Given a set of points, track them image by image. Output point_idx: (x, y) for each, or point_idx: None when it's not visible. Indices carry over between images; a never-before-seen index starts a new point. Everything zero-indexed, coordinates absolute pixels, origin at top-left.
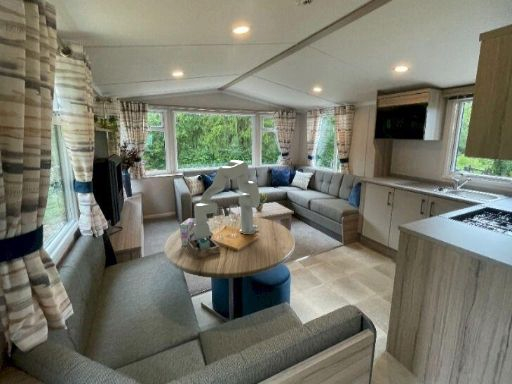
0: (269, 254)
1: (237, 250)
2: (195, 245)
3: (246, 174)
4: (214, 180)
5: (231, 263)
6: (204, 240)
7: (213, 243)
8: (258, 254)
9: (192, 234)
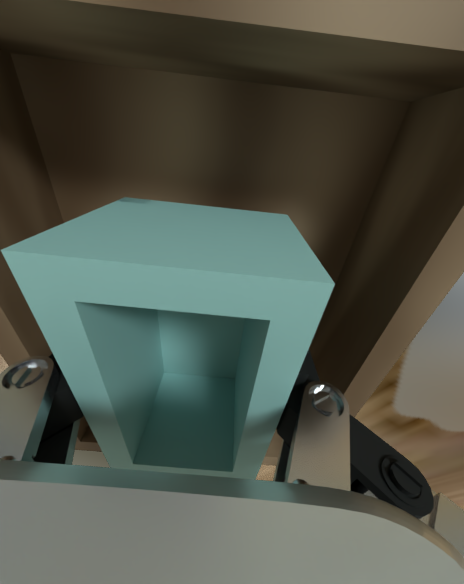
0: (455, 497)
1: (415, 424)
2: (129, 65)
3: None
4: None
5: (270, 472)
6: (255, 323)
7: (337, 380)
8: (429, 482)
9: None
